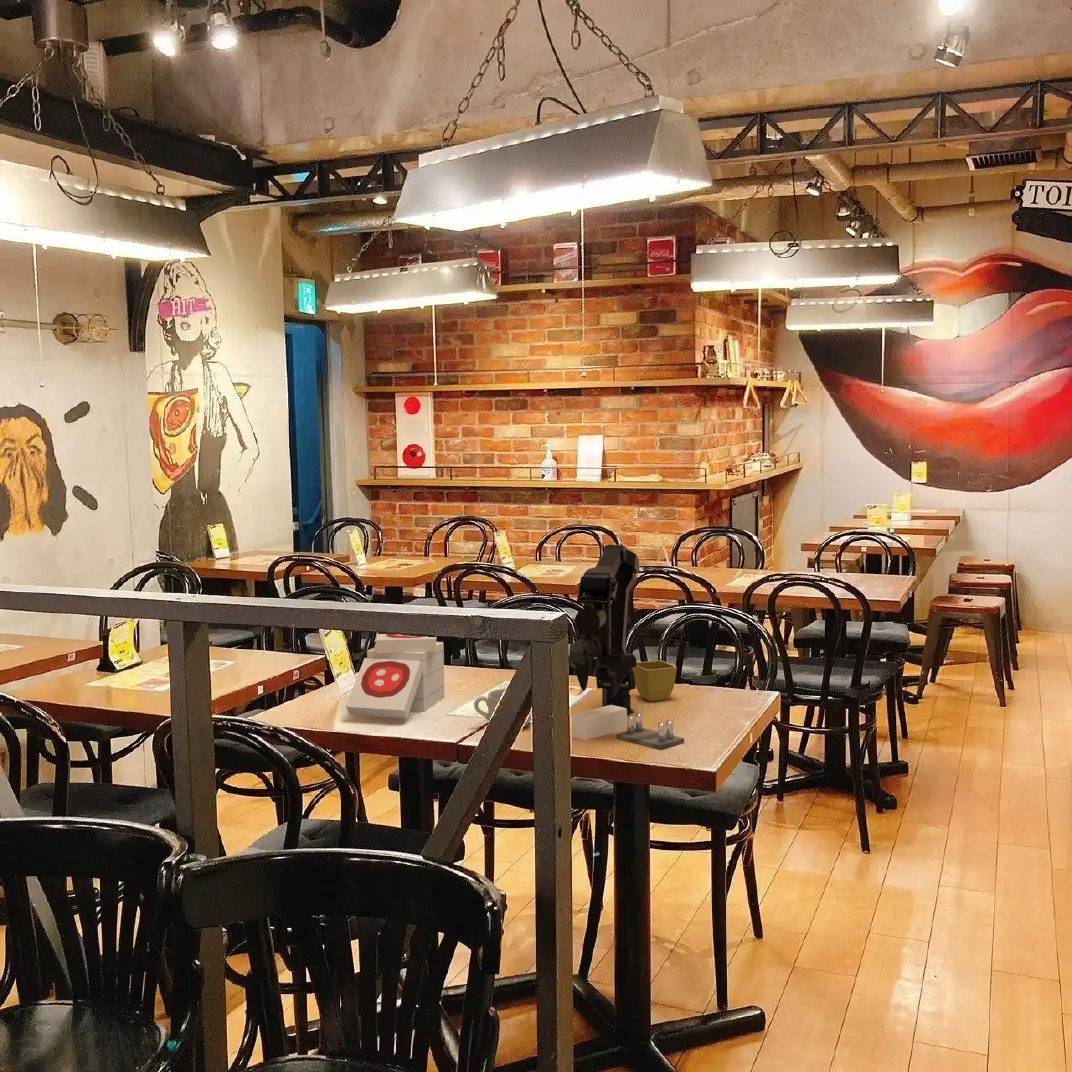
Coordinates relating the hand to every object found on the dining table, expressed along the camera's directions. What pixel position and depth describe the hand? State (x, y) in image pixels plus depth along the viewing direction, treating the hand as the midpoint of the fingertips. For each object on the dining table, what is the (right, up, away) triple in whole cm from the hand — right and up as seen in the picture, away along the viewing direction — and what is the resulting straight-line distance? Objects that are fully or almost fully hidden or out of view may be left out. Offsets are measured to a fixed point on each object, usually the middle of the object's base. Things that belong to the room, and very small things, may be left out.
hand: (598, 693), depth 259 cm
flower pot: (+16, -6, +31) cm, 36 cm away
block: (0, -9, +1) cm, 9 cm away
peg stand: (+11, -10, -7) cm, 16 cm away
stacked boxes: (-48, -7, +24) cm, 54 cm away
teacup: (-22, -9, +6) cm, 24 cm away
